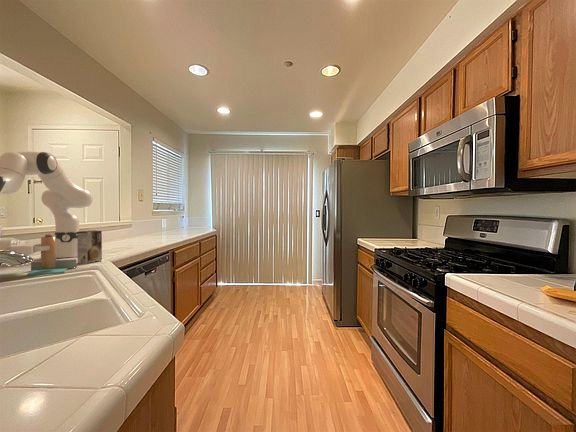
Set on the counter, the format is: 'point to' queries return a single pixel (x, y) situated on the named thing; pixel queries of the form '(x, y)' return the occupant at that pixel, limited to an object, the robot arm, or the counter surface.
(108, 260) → the counter surface
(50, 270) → the pad
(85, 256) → the coffee box
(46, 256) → the amber bottle
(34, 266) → the acrylic wall
